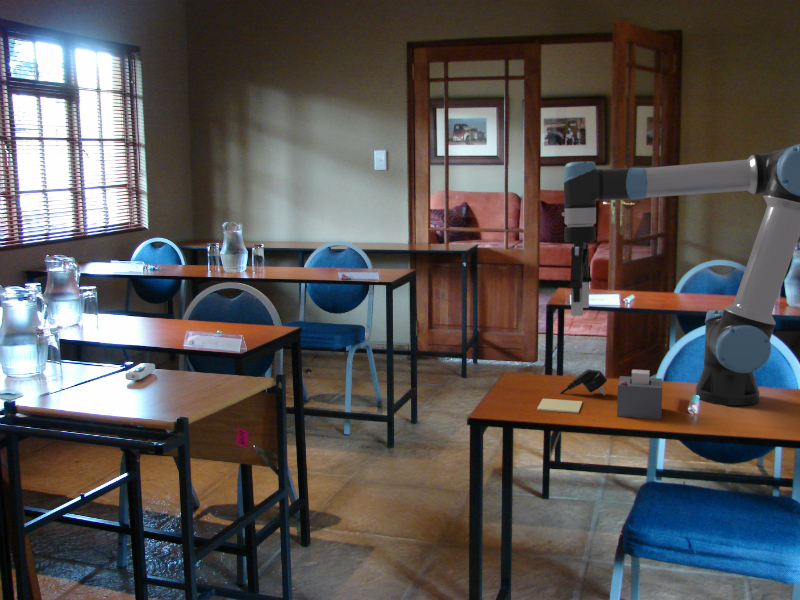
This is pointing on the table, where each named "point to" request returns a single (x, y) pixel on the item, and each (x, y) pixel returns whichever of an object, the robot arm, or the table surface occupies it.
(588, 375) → the power plug
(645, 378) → the button
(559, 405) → the pad
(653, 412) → the switch box
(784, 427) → the table surface
